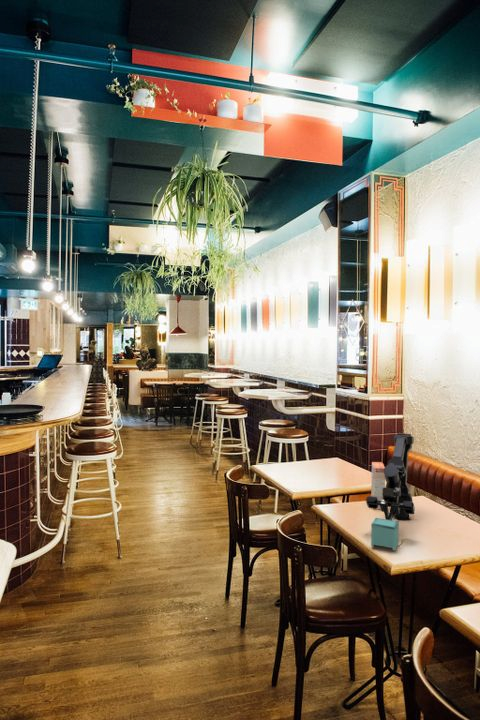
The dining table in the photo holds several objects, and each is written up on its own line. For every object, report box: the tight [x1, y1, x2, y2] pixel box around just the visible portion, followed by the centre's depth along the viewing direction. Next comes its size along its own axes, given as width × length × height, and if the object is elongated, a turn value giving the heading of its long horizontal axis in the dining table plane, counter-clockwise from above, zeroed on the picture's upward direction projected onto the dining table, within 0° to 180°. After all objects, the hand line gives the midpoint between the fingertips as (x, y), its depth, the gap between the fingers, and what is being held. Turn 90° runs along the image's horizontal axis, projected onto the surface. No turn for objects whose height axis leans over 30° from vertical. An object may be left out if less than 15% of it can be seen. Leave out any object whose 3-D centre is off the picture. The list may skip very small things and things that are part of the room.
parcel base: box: [396, 536, 404, 548], centre depth 200 cm, size 10×10×1 cm
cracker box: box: [370, 461, 386, 511], centre depth 246 cm, size 14×6×21 cm, turn 168°
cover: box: [370, 517, 400, 551], centre depth 193 cm, size 8×9×9 cm
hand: (387, 523), depth 197 cm, fingers closed
